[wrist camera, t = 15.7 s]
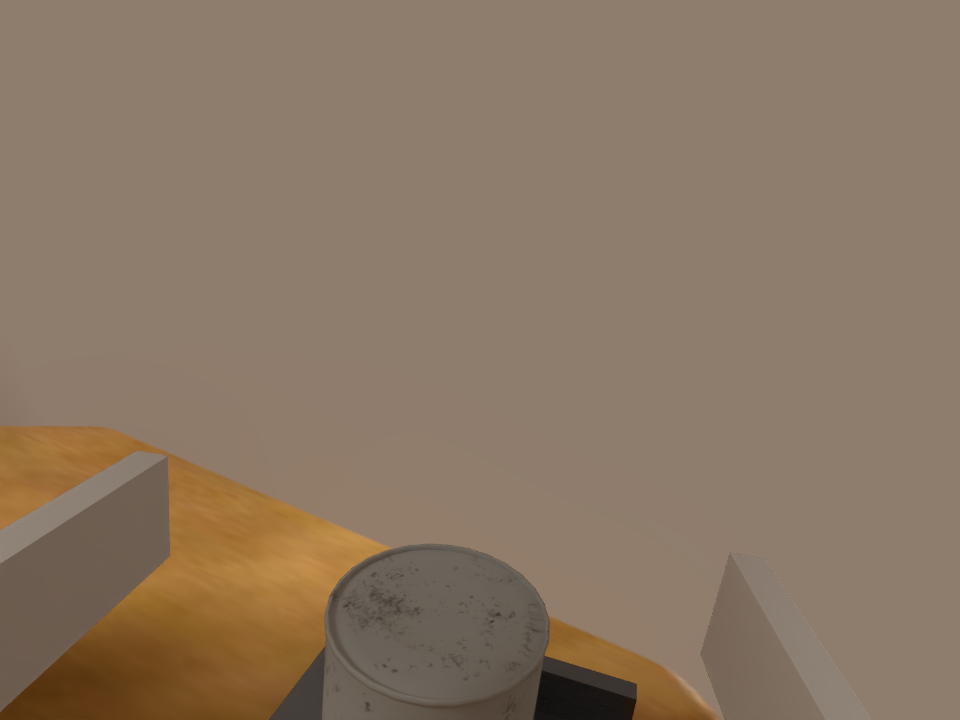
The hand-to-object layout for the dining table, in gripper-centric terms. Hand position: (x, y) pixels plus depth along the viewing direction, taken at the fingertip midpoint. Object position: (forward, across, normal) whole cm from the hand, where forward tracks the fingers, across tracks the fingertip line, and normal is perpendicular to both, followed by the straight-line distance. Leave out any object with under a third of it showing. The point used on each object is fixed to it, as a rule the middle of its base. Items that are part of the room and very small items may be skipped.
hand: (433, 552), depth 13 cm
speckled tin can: (+9, 0, -21) cm, 23 cm away
